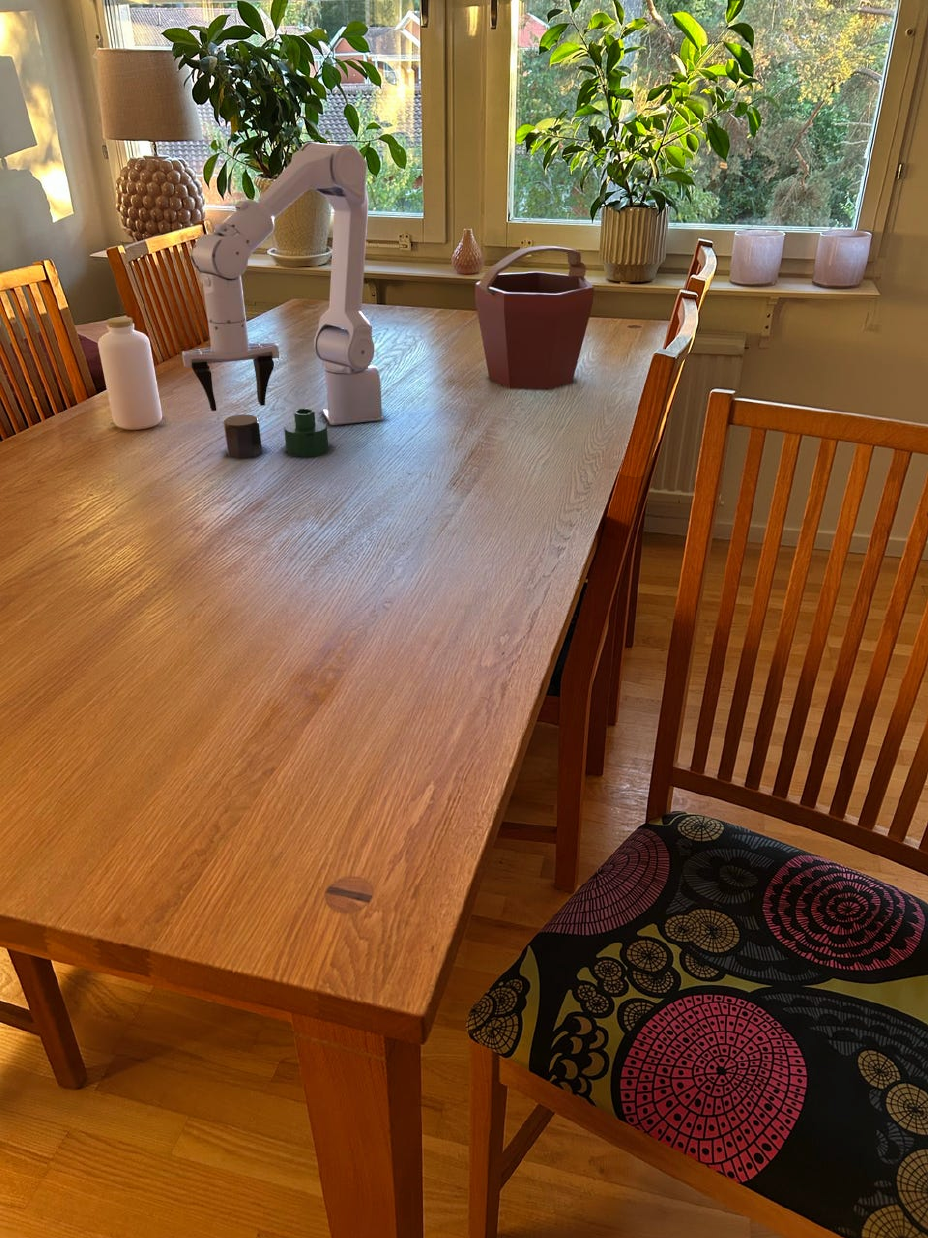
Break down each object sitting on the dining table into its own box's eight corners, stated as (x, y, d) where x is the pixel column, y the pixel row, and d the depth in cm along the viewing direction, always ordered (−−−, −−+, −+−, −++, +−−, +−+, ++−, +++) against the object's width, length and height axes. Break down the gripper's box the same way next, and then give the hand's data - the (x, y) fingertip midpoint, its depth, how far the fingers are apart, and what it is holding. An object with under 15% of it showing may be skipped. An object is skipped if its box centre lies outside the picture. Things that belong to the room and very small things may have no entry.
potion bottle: (172, 418, 166) (155, 315, 156) (144, 434, 159) (124, 327, 150) (133, 414, 168) (114, 312, 159) (104, 428, 161) (82, 323, 152)
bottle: (323, 440, 157) (320, 403, 153) (332, 454, 151) (329, 415, 148) (283, 445, 155) (279, 407, 151) (290, 459, 149) (286, 420, 146)
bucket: (566, 358, 200) (574, 235, 187) (612, 388, 182) (623, 253, 169) (459, 368, 194) (459, 241, 181) (495, 400, 176) (498, 261, 163)
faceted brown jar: (259, 444, 155) (255, 412, 152) (263, 456, 150) (260, 423, 147) (226, 448, 153) (221, 416, 150) (229, 459, 149) (225, 426, 146)
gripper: (268, 309, 146) (277, 394, 153) (174, 317, 142) (187, 404, 149) (278, 319, 141) (286, 406, 148) (180, 327, 136) (194, 417, 143)
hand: (237, 406), depth 148 cm, fingers open, 7 cm apart
